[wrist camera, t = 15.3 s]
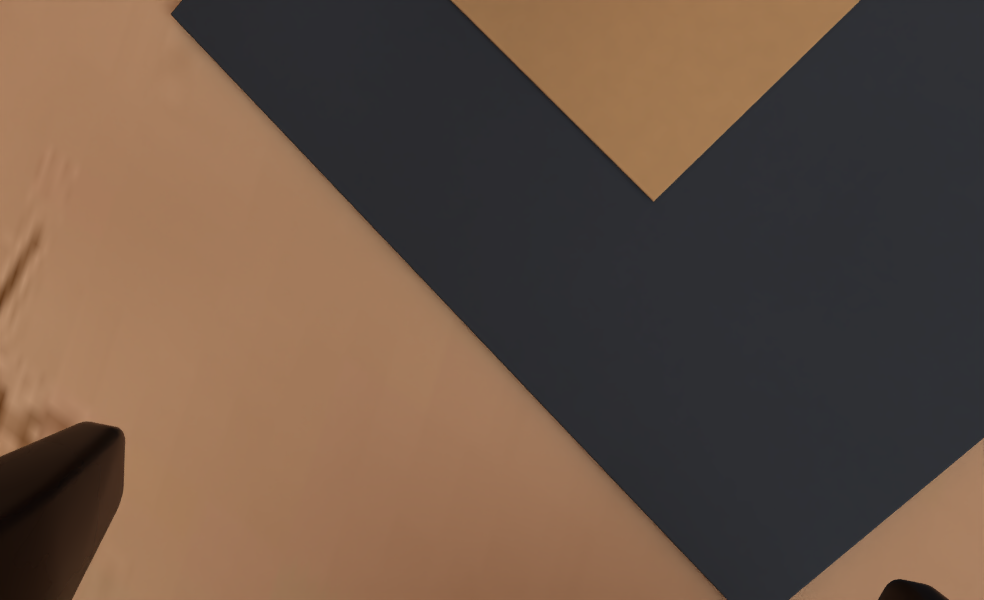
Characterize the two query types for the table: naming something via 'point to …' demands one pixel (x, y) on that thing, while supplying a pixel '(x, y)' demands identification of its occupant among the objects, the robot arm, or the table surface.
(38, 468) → the robot arm
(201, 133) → the table surface
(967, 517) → the table surface
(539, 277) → the desk mat
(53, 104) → the table surface
